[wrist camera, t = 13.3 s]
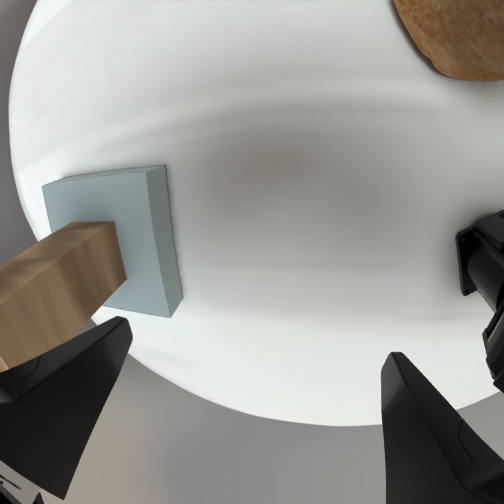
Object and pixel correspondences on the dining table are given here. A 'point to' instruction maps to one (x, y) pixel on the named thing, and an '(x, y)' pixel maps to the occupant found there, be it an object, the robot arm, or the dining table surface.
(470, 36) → the sandstone flared vase
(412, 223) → the dining table surface
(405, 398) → the robot arm
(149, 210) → the slate base
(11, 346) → the walnut column
